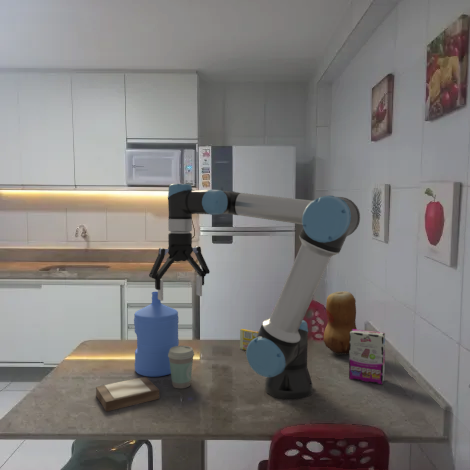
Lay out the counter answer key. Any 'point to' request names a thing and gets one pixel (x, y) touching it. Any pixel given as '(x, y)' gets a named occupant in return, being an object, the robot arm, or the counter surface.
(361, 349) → the candy bar box
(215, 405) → the counter surface
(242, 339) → the candy box
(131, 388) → the walnut plinth
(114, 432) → the counter surface
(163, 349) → the water jug
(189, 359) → the coffee cup
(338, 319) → the butternut squash
